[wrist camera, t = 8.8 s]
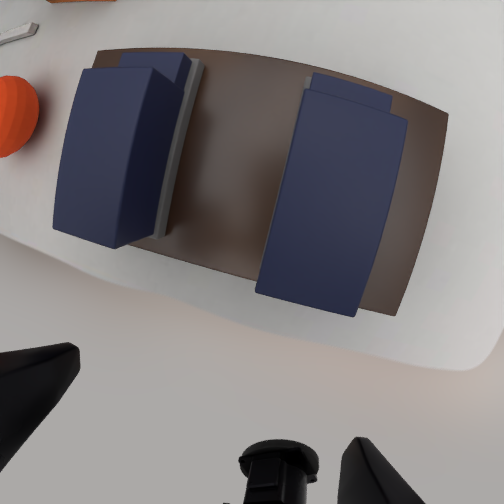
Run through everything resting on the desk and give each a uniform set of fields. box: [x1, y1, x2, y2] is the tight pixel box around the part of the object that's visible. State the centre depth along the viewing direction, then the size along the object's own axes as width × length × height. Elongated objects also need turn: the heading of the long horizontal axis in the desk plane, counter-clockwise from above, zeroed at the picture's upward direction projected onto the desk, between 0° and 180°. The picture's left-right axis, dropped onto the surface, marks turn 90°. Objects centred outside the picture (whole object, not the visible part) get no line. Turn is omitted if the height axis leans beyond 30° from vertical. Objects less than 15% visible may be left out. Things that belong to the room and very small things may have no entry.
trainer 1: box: [53, 52, 205, 249], centre depth 12 cm, size 9×4×4 cm, turn 167°
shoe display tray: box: [92, 48, 448, 316], centre depth 16 cm, size 20×11×4 cm, turn 77°
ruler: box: [0, 23, 38, 45], centre depth 17 cm, size 12×1×1 cm, turn 74°
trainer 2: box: [255, 72, 408, 317], centre depth 11 cm, size 9×4×4 cm, turn 167°
